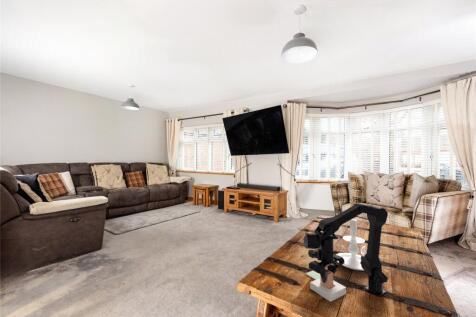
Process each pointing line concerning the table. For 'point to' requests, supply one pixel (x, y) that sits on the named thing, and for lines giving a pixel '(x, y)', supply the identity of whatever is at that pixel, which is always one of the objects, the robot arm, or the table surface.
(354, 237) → the candlestick
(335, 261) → the robot arm
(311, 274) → the pad
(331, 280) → the plug
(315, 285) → the white square frame
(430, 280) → the table surface
